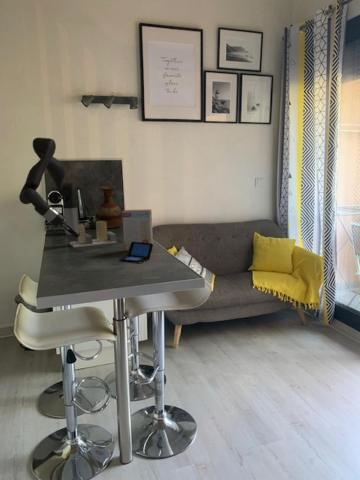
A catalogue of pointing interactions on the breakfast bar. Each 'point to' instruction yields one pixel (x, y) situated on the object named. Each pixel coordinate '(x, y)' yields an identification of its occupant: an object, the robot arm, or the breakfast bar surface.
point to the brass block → (101, 231)
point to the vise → (110, 236)
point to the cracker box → (137, 227)
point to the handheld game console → (138, 252)
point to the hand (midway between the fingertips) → (77, 236)
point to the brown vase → (109, 209)
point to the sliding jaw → (83, 235)
